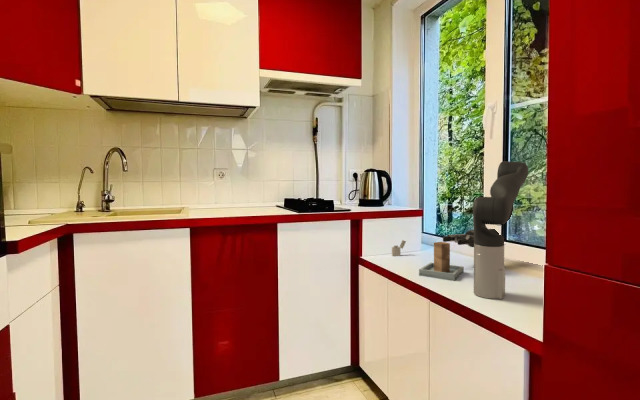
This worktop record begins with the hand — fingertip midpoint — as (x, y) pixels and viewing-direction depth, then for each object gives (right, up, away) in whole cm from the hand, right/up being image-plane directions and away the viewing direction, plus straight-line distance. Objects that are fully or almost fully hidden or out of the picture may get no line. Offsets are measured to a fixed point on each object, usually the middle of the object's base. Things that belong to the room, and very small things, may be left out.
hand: (450, 240), depth 148 cm
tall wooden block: (-5, -12, -4) cm, 14 cm away
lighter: (-15, -12, +32) cm, 37 cm away
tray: (-5, -13, -4) cm, 15 cm away
